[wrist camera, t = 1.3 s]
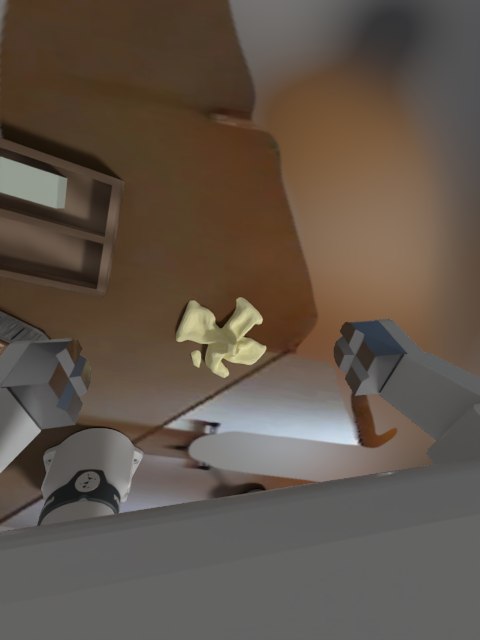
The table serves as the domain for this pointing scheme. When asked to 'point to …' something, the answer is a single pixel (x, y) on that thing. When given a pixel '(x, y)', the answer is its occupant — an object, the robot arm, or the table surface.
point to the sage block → (32, 183)
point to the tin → (17, 331)
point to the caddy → (60, 227)
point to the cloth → (221, 335)
